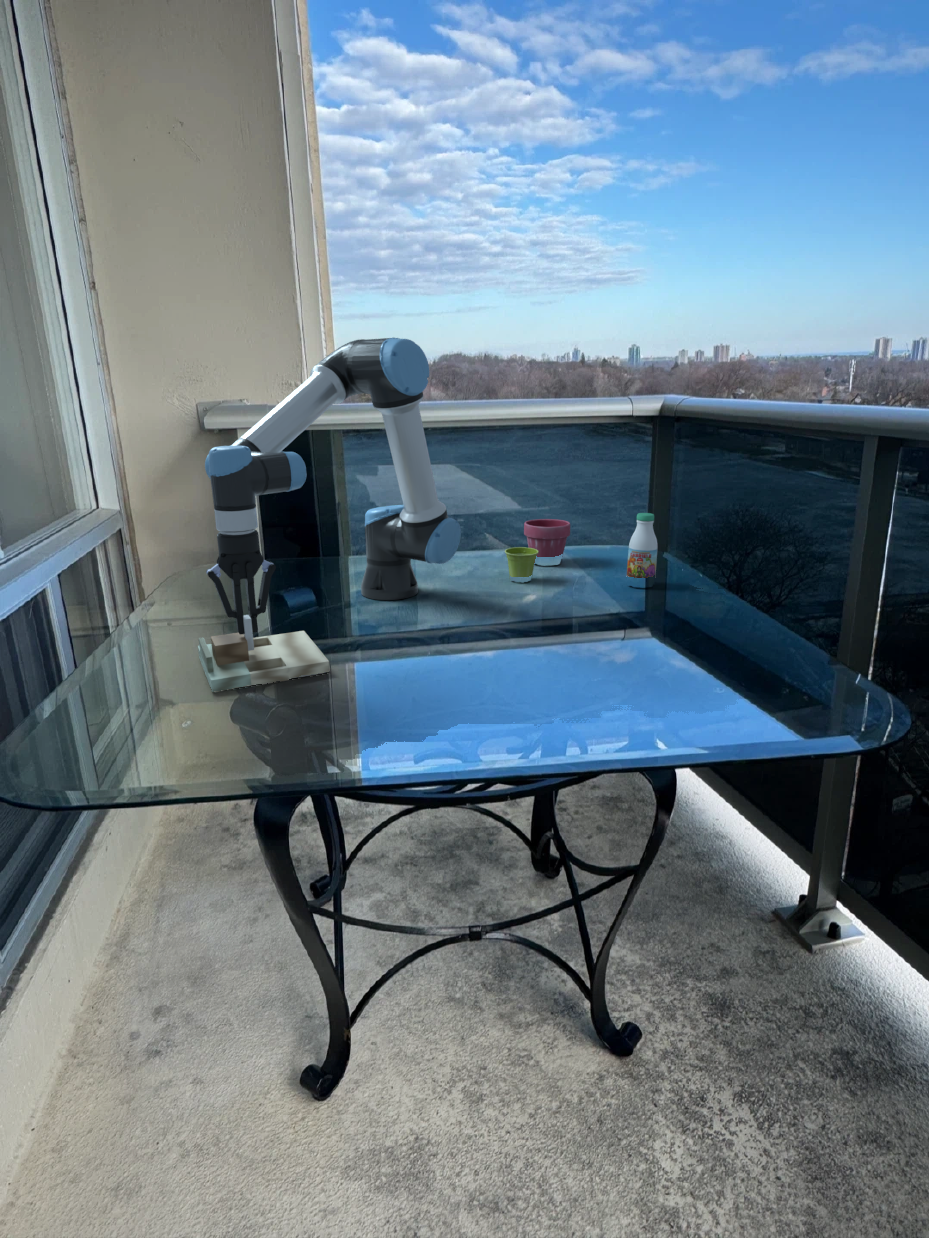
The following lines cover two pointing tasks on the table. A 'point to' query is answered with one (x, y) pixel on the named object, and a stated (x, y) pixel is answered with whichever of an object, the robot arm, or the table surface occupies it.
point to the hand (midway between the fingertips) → (249, 648)
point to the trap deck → (265, 661)
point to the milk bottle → (642, 548)
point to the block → (229, 648)
